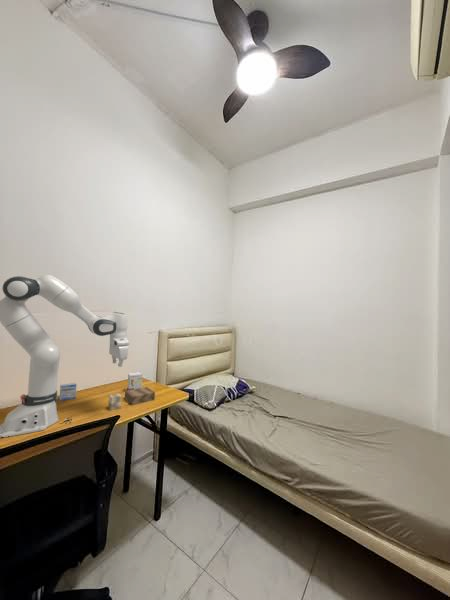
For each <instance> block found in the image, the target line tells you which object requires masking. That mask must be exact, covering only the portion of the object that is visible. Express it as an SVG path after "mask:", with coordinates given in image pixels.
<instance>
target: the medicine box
mask: <svg viewBox="0 0 450 600" xmlns="http://www.w3.org/2000/svg"><path fill="white" fill-rule="evenodd" d="M59 388H60V389H59V401H60V402H63V401H64V402H65V401H68V400H69V401H70V400H74V399H77V398H76V397H77V383H76V382H70V383H64V384H63V383H62V384H60V386H59Z"/></svg>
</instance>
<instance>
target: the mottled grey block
mask: <svg viewBox="0 0 450 600" xmlns="http://www.w3.org/2000/svg"><path fill="white" fill-rule="evenodd" d="M108 409H109V410H110V411H112V412H113V411H116V410H120V409H122V395H121V394H120V393H114V394H113V393H112V394H110V395H109V397H108Z"/></svg>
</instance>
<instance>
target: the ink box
mask: <svg viewBox="0 0 450 600" xmlns="http://www.w3.org/2000/svg"><path fill="white" fill-rule="evenodd" d="M126 386H127V389H126V391H129V390H134V389H139V388H143V373H142V372H141V371H137V372H129V373H128V375H127V385H126Z"/></svg>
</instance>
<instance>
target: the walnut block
mask: <svg viewBox="0 0 450 600" xmlns="http://www.w3.org/2000/svg"><path fill="white" fill-rule="evenodd" d="M155 395H156V392H155V391H154V390H152V389H150V388H149V387H148V386H144V387H142V388H139V389H134V390H129V391H127V390H125V391H124V400H125V401H127V402H128V403H129V404H130V405H131V406H135V405H139V404H143V403H147V402H151V401H155V399H156V398H155Z"/></svg>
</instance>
